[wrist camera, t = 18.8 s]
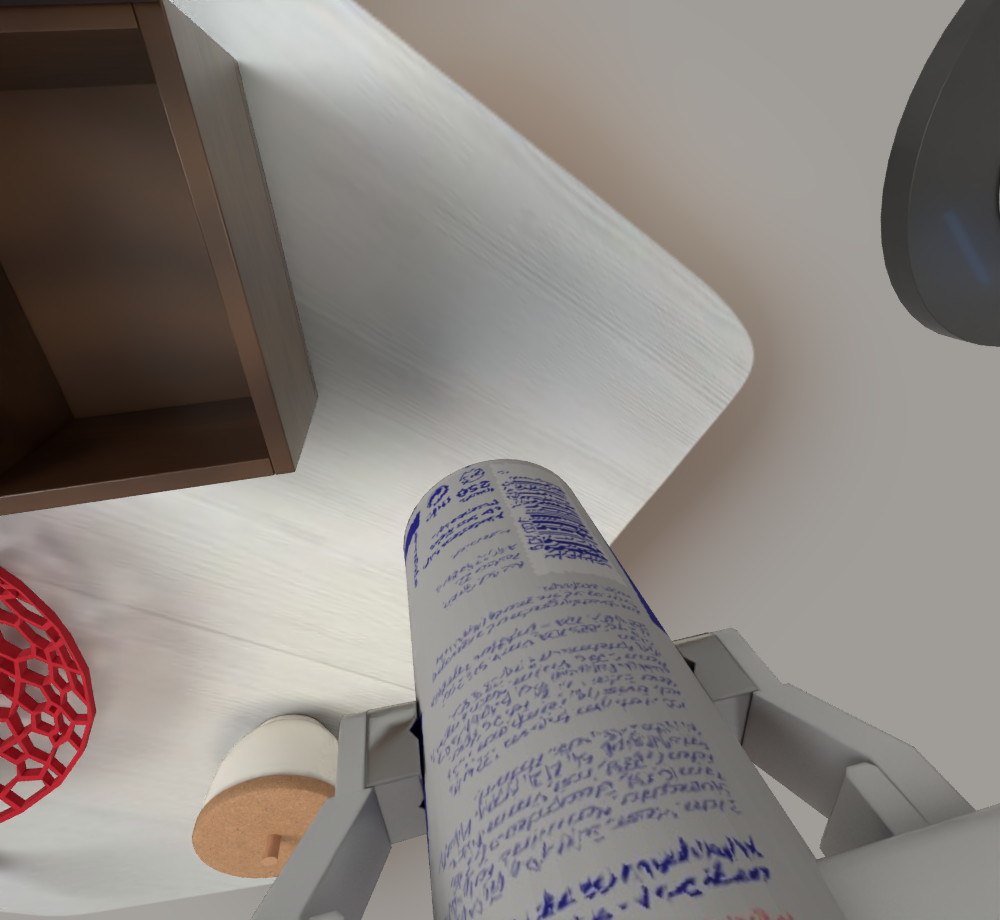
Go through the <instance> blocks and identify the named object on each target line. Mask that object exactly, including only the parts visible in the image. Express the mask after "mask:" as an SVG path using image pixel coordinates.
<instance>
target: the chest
mask: <svg viewBox="0 0 1000 920" xmlns="http://www.w3.org/2000/svg"><path fill="white" fill-rule="evenodd" d="M317 399H318V394H317V390H316V385H315V381H314V377H313V373H312V369H311V365H310V361H309V357H308V352H307V348H306V344H305V340H304V336H303V332H302V328H301V323H300V319H299V315H298V311H297V307H296V303H295V299H294V295H293V290H292V286H291V282H290V278H289V274H288V270H287V266H286V262H285V257H284V253H283V249H282V245H281V241H280V237H279V233H278V229H277V224H276V220H275V216H274V212H273V208H272V204H271V200H270V196H269V191H268V187H267V183H266V179H265V175H264V171H263V167H262V163H261V158H260V154H259V150H258V146H257V142H256V138H255V134H254V129H253V125H252V121H251V117H250V113H249V109H248V105H247V101H246V96H245V92H244V88H243V84H242V80H241V76H240V72H239V68H238V63H237V61H236V60H235V59H234V58H233V57H232V56H231V55H230V54H229V53H228V52H226V51H225V50H224V49H223V48H222V47H221V46H220V45H219V44H217V43H216V42H215V41H214V40H213V39H212V38H211V37H210V36H208V35H207V34H206V33H205V32H204V31H203V30H202V29H201V28H199V27H198V26H197V25H196V24H195V23H194V22H193V21H192V20H190V19H189V18H188V17H187V16H186V15H185V14H184V13H183V12H181V11H180V10H179V9H178V8H177V7H176V6H175V5H174V4H172V3H171V2H170V1H169V0H156V1H155V2H125V3H89V4H52V5H15V6H0V516H1V515H8V514H15V513H21V512H28V511H35V510H42V509H48V508H55V507H62V506H69V505H75V504H82V503H89V502H96V501H102V500H109V499H116V498H123V497H129V496H136V495H143V494H150V493H156V492H163V491H170V490H176V489H183V488H190V487H197V486H203V485H210V484H217V483H224V482H230V481H237V480H244V479H251V478H257V477H264V476H271V475H274V474H276V475H277V474H284V473H291V472H295V471H296V467H297V464H298V461H299V458H300V455H301V451H302V448H303V445H304V442H305V438H306V435H307V432H308V429H309V425H310V422H311V419H312V416H313V412H314V409H315V406H316V403H317Z"/></svg>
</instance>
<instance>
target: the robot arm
mask: <svg viewBox="0 0 1000 920" xmlns="http://www.w3.org/2000/svg"><path fill="white" fill-rule="evenodd" d="M999 210H1000V189H999ZM672 642H673V644H674V645H675V647H676V648H677V650H678V651H679V653H680V654H681V656H682V657H683V659H684V660H685V662H686V663H687V665H688V666H689V668H690V669H691V671H692V672H693V674H694V675H695V677H696V678H697V680H698V681H699V683H700V684H701V686H702V687H703V689H704V690H705V692H706V693H707V695H708V696H709V698H710V699H711V701H712V702H713V704H714V705H715V707H716V708H717V710H718V711H719V713H720V714H721V716H722V718H723V719H724V721H725V722H726V724H727V725H728V727H729V728H730V730H731V731H732V733H733V734H734V736H735V737H736V739H737V740H738V742H739V743H740V745H741V746H742V748H743V749H744V751H745V752H746V754H747V755H748V757H749V758H750V760H751V761H752V762H753V763H754V764H755V765H757V766H758V767H759V768H761V769H762V770H764V771H765V772H766V773H768V774H769V775H770V776H772V777H773V778H774V779H775V780H777V781H778V782H779V783H781V784H782V785H784V786H785V787H786V788H788V789H789V790H790V791H792V792H793V793H794V794H796V795H797V796H798V797H800V798H801V799H802V800H804V801H805V802H806V803H808V804H809V805H810V806H812V807H813V808H814V809H816V810H817V811H819V812H820V813H821V814H822V815H824V816H825V817H826V818H828V822H827V825H826V828H825V831H824V833H823V836H822V839H821V844H820V849H821V850H822V852H823V854H824V855H825V857H824V858H820V859H817V860H815V862H816V865H817V868H818V870H819V872H820V874H821V876H822V878H823V880H824V881H825V883H826V885H827V887H828V888H829V890H830V892H831V893H832V895H833V897H834V899H835V900H836V902H837V904H838V906H839V907H840V909H841V911H842V912H843V914H844V916H845V918H846V919H847V920H1000V804H996V805H993V806H990V807H987V808H983V809H980V810H977V811H976V810H975V809H974V808H973V807H972V806H971V805H970V804H969V803H968V802H967V801H966V800H965V799H964V798H963V797H962V796H961V795H960V794H959V793H958V792H957V791H956V790H955V788H954V787H953V786H952V785H951V784H950V783H949V782H948V781H947V780H946V779H945V778H944V777H943V776H942V775H941V774H940V773H939V772H938V771H937V770H936V769H935V768H934V767H933V766H932V765H931V764H930V763H929V762H928V761H927V760H926V759H925V758H924V757H923V756H922V755H921V754H920V753H919V752H918V751H917V750H916V748H915V747H913V746H911V745H909V744H907V743H905V742H903V741H902V740H900V739H898V738H896V737H893V736H892V735H890V734H888V733H886V732H884V731H882V730H880V729H878V728H876V727H874V726H872V725H870V724H868V723H866V722H864V721H862V720H860V719H858V718H856V717H854V716H852V715H850V714H848V713H846V712H844V711H842V710H840V709H838V708H836V707H835V706H832V705H831V704H829V703H826V702H825V701H823V700H821V699H819V698H817V697H815V696H813V695H811V694H809V693H807V692H805V691H803V690H801V689H799V688H797V687H795V686H793V685H791V684H789V683H788V684H783V685H782V684H781V682H780V681H779V680H778V679H777V678H776V676H775V675H774V674H773V673H772V672H771V670H770V669H769V668H768V667H767V666H766V665H765V663H764V662H763V661H762V660H761V659H760V658H759V656H758V655H757V654H756V653H755V652H754V650H753V649H752V648H751V647H750V646H749V644H748V643H747V642H746V641H745V640H744V638H743V637H742V636H741V635H740V634H739V633H738V631H737V630H735V629H733V628H727V629H723V630H719V631H714V632H711V633H704V634H699V635H696V636H692V637H687V638H683V639H679V640H675V641H672ZM419 733H420V728H419V716H418V706H417V701H412V702H407V703H402V704H397V705H392V706H387V707H382V708H377V709H372V710H368V711H363V712H358V713H354V714H349V715H344V716H342V719H341V722H340V727H339V741H338V756H337V770H336V784H335V796H334V797H331V798H327V799H326V801H325V802H324V804H323V805H322V807H321V809H320V810H319V812H318V813H317V815H316V817H315V818H314V820H313V821H312V823H311V824H310V826H309V828H308V829H307V831H306V832H305V834H304V835H303V837H302V839H301V840H300V842H299V843H298V845H297V846H296V848H295V850H294V851H293V853H292V854H291V856H290V858H289V859H288V861H287V862H286V864H285V865H284V867H283V869H282V870H281V872H280V873H279V875H278V876H277V878H276V880H275V881H274V883H273V884H272V886H271V887H270V889H269V891H268V892H267V894H266V895H265V897H264V898H263V900H262V902H261V903H260V905H259V906H258V908H257V910H256V911H255V913H254V914H253V916H252V917H251V919H250V920H361V918H362V916H363V914H364V911H365V909H366V907H367V904H368V902H369V900H370V897H371V895H372V892H373V890H374V888H375V885H376V883H377V881H378V878H379V876H380V874H381V871H382V869H383V866H384V864H385V862H386V859H387V857H388V854H389V852H390V850H391V848H392V847H391V844H394V843H397V842H401V841H404V840H407V839H410V838H414V837H417V836H421V835H424V834H427V828H426V816H425V803H424V778H423V765H422V753H421V748H420V740H419Z"/></svg>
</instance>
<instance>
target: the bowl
mask: <svg viewBox="0 0 1000 920" xmlns="http://www.w3.org/2000/svg"><path fill="white" fill-rule="evenodd" d="M1 586H2V587H1ZM3 587H4V588H5V589H4V588H3ZM16 598H18V599H20V600H22V601H24V602H26V603H29V604H31V605H33V606H34V607H35V608H36V609H37V610H38V611H39V612H40V613H41V614H42V615H43V616H44V617H45V618H46V619H45V618H43V617H41V616H39V615H37V614H35V613H33V612H31V611H29V610H27V609H26V608H25V607H24V606H23V605H22V604H21V603H20V602H19V601H18V600H17V599H16ZM0 600H1V601H2V602H3V603H4V604H5V605H6V606H7V607H8V608H9V609H10V610H12V611H13V612H14V613H15V614H16V615H15V614H12V613H10V612H7V611H5V610H2V609H0V623H3V624H6V625H9V626H12V627H15V628H16V629H17V630H18V631H19V632H20V633H21V634H22V635H23V636H24V637H25V638H26V639H27V641H28V642H29V643H30V644H31V648H27V649H24V650H22V649H20V648H18V647H17V646H15V645H13V644H12V643H10V642H8V641H6V640H5V639H4V637H3V635H2V633H1V631H0V694H3V695H5V696H6V697H7V698H9V699H10V700H11V701H12V705H11V708H5V707H0V722H6V723H7V725H8V727H9V729H10V731H11V732H12V734H13V735H12V736H10V737H9V738H7V739H6V740H2V739H1V738H0V756H1V757H2V758H4V759H6V760H8V761H9V762H11V763H13V764H15V765H16V766H17V776H16V777H15V778H13V779H12V780H11V781H10V782H9V783H8V784H7V785H6V786H4V785H2V784H0V799H1V800H2V801H4V802H5V803H6V804H8V805H9V806H11V808H9V809H7V810H4V811H2V812H0V823H2V822H4V821H6V820H8V819H10V818H12V817H14V816H16V815H18V814H21V813H22V812H24V811H25V810H27V809H28V808H29V807H31V806H32V805H33V804H35V803H36V802H38V801H39V800H40V799H42V798H43V797H44V796H46V795H47V794H49V793H50V792H51V791H53V790H54V789H55V788H57V787H58V786H60V785H61V784H62V782H63V781H64V779H65V778H66V777H67V775H68V774H69V772H70V771H71V770H72V768H73V767H74V765H75V764H76V762H77V761H78V760H79V758H80V757H81V755H82V754H83V752H84V750H85V748H86V746H87V743H88V739H89V735H90V732H91V728H92V725H93V721H94V717H95V714H96V707H95V701H94V696H93V690H92V684H91V679H90V673H89V668H88V666H87V664H86V662H85V660H84V658H83V656H82V654H81V652H80V651H79V649H78V647H77V645H76V643H75V641H74V639H73V637H72V635H71V633H70V632H69V631H68V629H67V628H66V627H65V625H64V624H63V623H62V621H61V620H60V619H59V617H58V616H57V615H56V613H55V612H54V611H53V610H52V609H51V608H50V607H48V606H47V605H46V604H45V603H44V602H43V601H42V600H41V599H40V598H39V597H38V596H37V595H36V594H35V593H34V592H33V591H32V590H31V589H29V588H28V587H27V586H26V585H25V584H24V583H23V582H22V581H21V580H19V579H18V578H17V577H15V576H14V575H12V574H11V573H9V572H8V571H6V570H5V569H3V568H2V567H1V566H0ZM26 622H27V623H29V624H32V625H34V626H36V627H38V628H40V629H42V630H44V631H46V633H47V635H48V637H49V638H50V640H51V642H49V641H48V640H46V639H44V638H43V637H41V636H39V635H38V634H36V633H35V632H34V631H33V630H32V629H31V627H30V626H29V625H28V624H27V623H26ZM59 635H60V636H59ZM65 645H66V646H65ZM66 647H67V648H66ZM67 649H68V651H69V653H70V654H71V656H72V658H73V660H74V661H73V660H72V659H71V657H70V655H69V653H68V651H67ZM55 650H56V651H57V653H58V655H59V656H57V654H56V651H55ZM32 658H36V659H38V660H40V661H43V662H45V663H47V664H48V670H49V675H47V676H43V675H41V674H39V673H36V672H34V671H32V670H30V669H28V668H27V661H26V660H29V659H32ZM58 667H59V668H62V669H65V671H66V674H67V677H68V680H69V682H68V683H66V682H65V680H64V679H63V678H62V677H61V676H60V674H59V673H58ZM76 674H79V675H81V678H82V683H83V685H82V684H81V683H80V682H79V680H78V679H77V675H76ZM8 675H9V676H10V677H12V678H14V679H15V683H14V682H13V681H11V680H10V679H9V676H8ZM50 683H52V684H53V685H54V686H55V687H56V688H57V689H58V690H59V691H60V696H59V695H58V694H56V693H55V691H54V690H53V688H52V687H51V685H50ZM26 684H29V685H32V686H35V687H38V688H40V690H41V691H42V693H43V695H44V696H45V698H46V700H47V702H42V703H37V702H36V701H35V700H34V699H33V698H32V697H31V696H30V695H29V694H28V693H26V692H25V687H26ZM71 690H72V691H73V692H74V693H75V694H76V695H77V696H78V697H79V698H80V700H81V701H82V702H83V703H84V704H85V705H86V706H87V714H77V713H76V712H75V710H74V709H73V708H72V707H71V705H70V704H69V703H68V702H67V692H69V691H71ZM19 706H20V707H21V708H23V709H24V710H25V711H27V712H28V713H30V714H31V724H29V725H28V726H26V727H24V726H23V724H22V722H21V719H20V717H19V715H18V713H17V709H18V707H19ZM41 712H45V713H47V714H49V715H51V716H53V717H54V723H55V725H54V726H53V725H51V724H49V723H46V722H44V721H42V720H41ZM62 713H63V714H64V715H65V716H66V717H67V719H68V720H69V721H70V722H71V723H70V725H69V726H68V725H67V724H65V723H64V720H63V715H62ZM75 725H86V727H85V731H84V734H83V738H82V739H81V738H80V737H79V736H78V735H77V734H76V733H75V732H74V727H75ZM31 732H35V733H38V734H42V735H45V736H48V737H49V739H50V741H51V743H52V745H53V748H52V750H51V753H50V754H48V753H46V752H44V751H42V750H40V749H38V748H36V747H34V745H33V743H32V742H31V740H30V738H29V736H28V734H29V733H31ZM59 732H60V733H62V734H61V735H59V734H58V733H59ZM66 741H68V742H69V743H70V744H71V745H72V746H73V747H74V748H75V749H76V750H77V753H76V754H75V756H74V757H73V759H72V760H71V762H70V763H69V765H68V766H67V768H66V767H65V766H64V765H63V764H62V763H60V762H59V761H58V760H57V759H56V758H55V757H54V756H55V754H56V752H57V749H58V747H59V746H60V745H61V744H63V743H65V742H66ZM16 743H18V744H19V746H20V747H21V749H22V750H23V752H24V753H23V752H21V751H19V750H18V749H16V748H14V747H13V745H15V744H16ZM28 758H30V759H32V760H34V761H36V762H39V763H41V764H43V765H44V766H43V768H34V769H26V764H25V760H26V759H28ZM48 768H49V769H50V770H51V771H53V772H54V773H55V774H56V775H57V776H58V777H56V778H55V779H54V778H53V777H52V775H51V774H50V773H49V772H48ZM32 780H42V781H43V782H44V784H45V787H43V788H42V789H40V790H39V791H38V792H36V793H35V794H33V795H32V796H31V797H29V798H28V799H27V800H24V799H23V798H21V797H20V796H18V795H17V794H16V793H14V792H13V791H11V789H12V788H13V786H14V785H15V784H16V783H17V782H18V781H32Z"/></svg>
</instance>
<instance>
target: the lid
mask: <svg viewBox="0 0 1000 920" xmlns="http://www.w3.org/2000/svg"><path fill="white" fill-rule="evenodd" d="M155 1H156V0H0V6H15V5H52V4H89V3H125V2H155Z"/></svg>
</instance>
